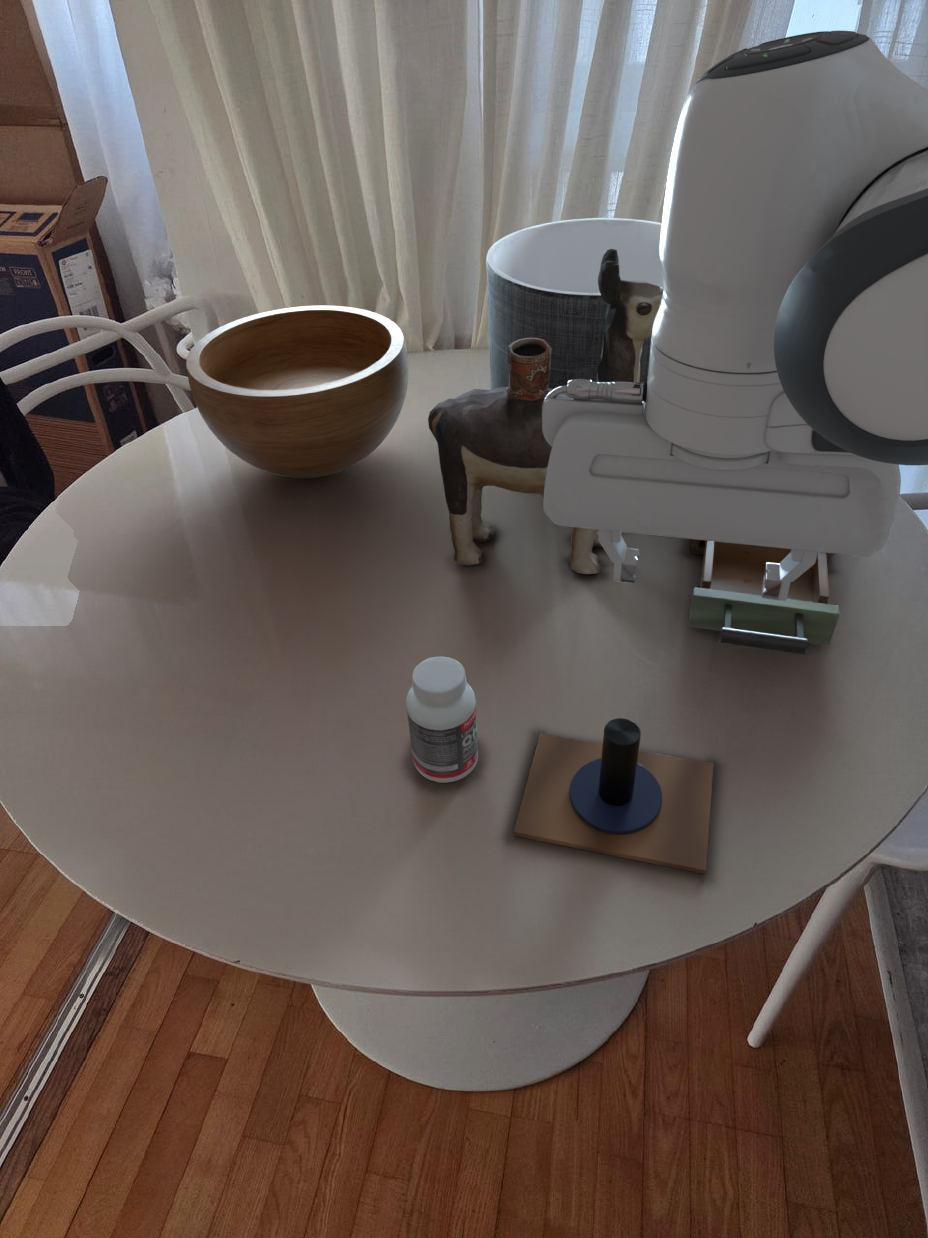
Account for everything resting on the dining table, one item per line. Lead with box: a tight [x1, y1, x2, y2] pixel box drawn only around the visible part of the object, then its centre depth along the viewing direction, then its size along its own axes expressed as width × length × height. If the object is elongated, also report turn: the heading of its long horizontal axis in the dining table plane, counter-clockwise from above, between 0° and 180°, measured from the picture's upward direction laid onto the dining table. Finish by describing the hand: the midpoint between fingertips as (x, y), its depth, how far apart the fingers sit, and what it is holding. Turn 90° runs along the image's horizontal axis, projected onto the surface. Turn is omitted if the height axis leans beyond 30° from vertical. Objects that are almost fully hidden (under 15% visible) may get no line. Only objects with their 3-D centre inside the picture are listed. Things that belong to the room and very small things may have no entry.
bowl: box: [185, 305, 410, 479], centre depth 102 cm, size 25×25×15 cm
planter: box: [485, 217, 663, 390], centre depth 103 cm, size 25×25×22 cm
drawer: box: [687, 540, 840, 656], centre depth 80 cm, size 19×12×4 cm, turn 165°
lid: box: [570, 717, 662, 835], centre depth 63 cm, size 7×7×8 cm
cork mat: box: [513, 733, 715, 875], centre depth 66 cm, size 14×10×1 cm
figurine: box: [427, 249, 663, 575], centre depth 82 cm, size 10×23×30 cm, turn 82°
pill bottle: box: [405, 656, 479, 784], centre depth 67 cm, size 5×5×10 cm
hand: (697, 585), depth 56 cm, fingers open, 8 cm apart
